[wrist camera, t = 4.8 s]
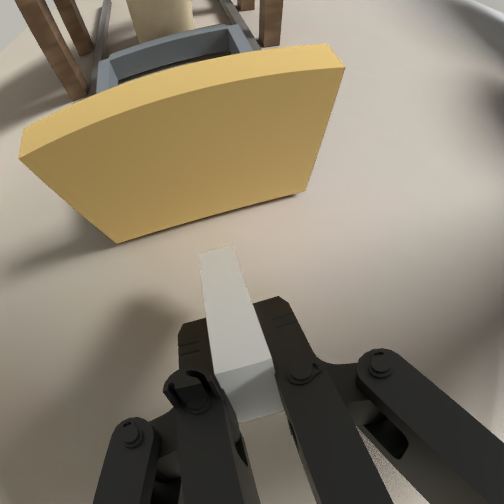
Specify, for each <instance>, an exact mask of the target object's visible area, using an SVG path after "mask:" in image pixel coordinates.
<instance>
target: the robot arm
mask: <svg viewBox="0 0 504 504" xmlns="http://www.w3.org/2000/svg"><path fill="white" fill-rule="evenodd" d="M198 257H199V266H200V274H201V283H202V291H203V298H204V306H205V313H206V318H203V319H200V320H196V321H192V322H188V323H185V324H183V325H182V327H181V329H180V331H179V334H178V347H179V348H178V354H179V370H177V371H176V372H174V373H173V374H172V375H171V376H169V378H168V379H167V381H166V382H165V384H164V388H163V393H164V394H165V396H166V397H167V398H168V400H169V401H170V402H171V404H172V405H173V406H174V407H173V408H172V409H171V410H170V411H169V412H167V413H166V414H164V415H162V416H160V417H158V418H156V419H154V420H152V421H150V422H147V421H146V420H145V419H142V418H138V417H135V418H129V419H126V420H124V421H122V422H121V423H120V424H119V425H118V426H117V427H116V428H115V430H114V432H113V434H112V437H111V440H110V444H109V447H108V450H107V454H106V457H105V460H104V464H103V468H102V471H101V475H100V478H99V482H98V486H97V490H96V493H95V497H94V501H93V504H260V500H259V496H258V493H257V489H256V485H255V481H254V478H253V474H252V470H251V466H250V462H249V458H248V454H247V450H246V446H245V442H244V438H243V436H242V434H241V432H240V430H239V425H238V422H239V423H242V422H246V421H250V420H254V419H257V418H261V417H265V416H268V415H271V414H275V413H278V412H282V411H285V413H286V416H287V420H288V423H289V427H290V431H291V435H292V436H293V438H294V441H295V444H296V447H297V450H298V453H299V455H300V458H301V461H302V464H303V467H304V470H305V472H306V475H307V478H308V481H309V483H310V486H311V489H312V492H313V495H314V497H315V500H316V503H317V504H393V502H392V499H391V497H390V495H389V493H388V491H387V489H386V487H385V485H384V483H383V481H382V479H381V477H380V475H379V473H378V471H377V469H376V467H375V465H374V463H373V461H372V459H371V456H370V454H369V452H368V450H367V448H366V446H365V444H364V442H363V440H362V438H361V436H360V434H359V432H358V430H357V428H356V426H357V427H358V428H359V429H360V430H361V431H362V432H363V434H364V435H365V436H366V437H367V438H368V439H369V440H370V441H371V442H372V443H373V444H374V445H375V447H376V448H377V449H378V450H379V451H380V452H381V453H382V454H383V455H384V456H385V457H386V458H387V459H388V460H389V461H390V463H391V464H392V465H393V466H394V467H395V468H396V469H397V470H398V471H399V472H400V473H401V474H402V475H403V476H404V477H405V478H406V479H407V480H408V481H409V482H410V483H411V485H412V486H413V487H414V488H415V489H416V490H417V491H418V492H419V493H420V494H421V495H422V496H423V497H424V498H425V499H426V500H427V501H428V502H429V503H430V504H504V443H503V442H502V441H501V440H500V439H498V438H497V437H496V436H495V435H494V434H493V433H491V432H490V431H489V430H488V429H487V428H486V427H484V426H483V425H482V424H481V423H480V422H479V421H477V420H476V419H475V418H474V417H473V416H471V415H470V414H469V413H468V412H467V411H466V410H464V409H463V408H462V407H461V406H460V405H458V404H457V403H456V402H455V401H454V400H453V399H451V398H450V397H449V396H448V395H447V394H445V393H444V392H443V391H442V390H441V389H439V388H438V387H437V386H436V385H435V384H433V383H432V382H431V381H430V380H429V379H427V378H426V377H425V376H424V375H423V374H421V373H420V372H419V371H418V370H417V369H415V368H414V367H413V366H412V365H411V364H409V363H408V362H407V361H406V360H405V359H403V358H402V357H401V356H400V355H399V354H397V353H395V352H393V351H392V350H388V349H383V348H381V349H373V350H371V351H369V352H366V353H365V354H364V355H363V356H362V357H361V358H360V359H359V361H358V363H351V364H330V363H326V362H324V361H322V360H320V359H319V358H318V357H316V355H315V354H314V352H313V351H312V349H311V347H310V345H309V343H308V341H307V339H306V337H305V335H304V333H303V331H302V329H301V327H300V325H299V323H298V321H297V319H296V317H295V315H294V313H293V311H292V309H291V307H290V305H289V303H288V302H286V301H285V300H284V299H282V298H281V297H279V296H277V297H274V298H270V299H267V300H264V301H260V302H257V303H253V304H252V301H251V298H250V295H249V292H248V289H247V286H246V283H245V280H244V277H243V275H242V272H241V269H240V266H239V263H238V260H237V257H236V254H235V251H234V248H233V245H228V246H225V247H221V248H218V249H214V250H211V251H207V252H204V253H200V254H198ZM237 420H238V421H237Z"/></svg>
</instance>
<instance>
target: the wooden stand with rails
mask: <svg viewBox="0 0 504 504" xmlns="http://www.w3.org/2000/svg"><path fill="white" fill-rule="evenodd" d="M15 2H16V4H17V6H18V8H19V10H20V11H21V13H22V15H23V17H24V19H25V21H26V23H27V24H28V26H29V28H30V30H31V32H32V33H33V35H34V37H35V39H36V41H37V42H38V44H39V46H40V48H41V49H42V51H43V53H44V54H45V56H46V58H47V60H48V61H49V63H50V65H51V66H52V68H53V70H54V71H55V73H56V75H57V76H58V78H59V79H60V81H61V83H62V84H63V86H64V88H65V89H66V91H67V92H68V94H69V96H70V97H71V99H72V100H73V101H75V100H77V99H79V98H82V97H84V96H86V95H87V93H88V84H87V82H86V81H85V79H84V77H83V75H82V73H81V71H80V69H79V68H78V66H77V64H76V62H75V60H74V58H73V56H72V54H71V52H70V50H69V48H68V46H67V45H66V43H65V41H64V39H63V37H62V35H61V33H60V31H59V29H58V27H57V25H56V23H55V21H54V18H53V16H52V14H51V12H50V10H49V8H48V6H47V4H46V2H45V0H15ZM54 2H55V4H56V7H57V9H58V11H59V13H60V16H61V18H62V20H63V22H64V24H65V26H66V28H67V30H68V32H69V34H70V37H71V39H72V41H73V43H74V45H75V47H76V49H77V51H78V53H79V55H80V56H82V55H84V54H86V53H89V52H91V51H93V42H92V40H91V38H90V36H89V33H88V31H87V29H86V26H85V24H84V22H83V19H82V17H81V15H80V12H79V10H78V8H77V5H76V3H75V0H54ZM219 2H220V4H221V5H222V7H223V9H224V11H225V12H226V14H227V16H228V18H229V19H230V21H231V23H232V25H235V24H238V25H239V26H240V28H241V30H242V31H243V33H244V35H245V37H246V38H247V40H248V42H249V44H250V45H251V47H252V49H253V51H258V50H261V48H260V46H259V45H258V43H257V41H256V40H255V38H254V36H253V35H252V33H251V31H250V30H249V28H248V26H247V25H246V23H245V22H244V20H243V18H242V17H241V15H240V14H239V12H238V11H237V9H236V8H235V6H234V4H233V3H232V1H231V0H219ZM254 2H255V0H237V4H238V7H239V9H240V10H241V11H246V10H254ZM111 4H112V3H111V0H104V1H103V6H102V11H101V16H100V21H99V26H98V32H97V38H96V45H95V52H94V59H93V68H92V77H91V87H90V96H93V95H95V94H96V88H97V75H98V64H99V61H102V60H104V59H105V55H106V44H107V34H108V25H109V18H110V10H111ZM282 9H283V0H260V15H259V40H260V42H261V43H262V45H263V47H269V46H278V45H279V44H280V33H281V21H282Z"/></svg>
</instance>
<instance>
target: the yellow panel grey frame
mask: <svg viewBox="0 0 504 504" xmlns="http://www.w3.org/2000/svg"><path fill="white" fill-rule="evenodd" d="M227 50H229V51H230V53H231V55H228V56H223V57H218V58H213V59H208V60H204V61H200V62H195V63H191V64H187V65H183V66H179V67H176V68H172V69H168V70H165V71H161V72H158V73H155V74H151V75H148V76H145V77H142V78H139V79H136V80H133V81H130V82H127V83H124V84H121V85H119V86H118V80H120V79H123V78H126V77H129V76H132V75H135V74H138V73H141V72H144V71H147V70H150V69H154V68H157V67H160V66H164V65H167V64H171V63H175V62H178V61H182V60H186V59H190V58H194V57H199V56H203V55H208V54H212V53H217V52H222V51H227ZM344 70H345V66H344V64H343V63H342V62H341V60H340V59H339V58H338V57H337V55H336V54H335V53H334V51H333V50H332V49H331V48H330V46H329V45H328V44H316V45H302V46H291V47H281V48H273V49H265V50H258V51H253V49H252V47H251V45H250V44H249V42H248V40H247V38H246V37H245V35H244V33H243V31H242V30H241V28H240V26H239V25H238V24H235V25H228V26H226V24H225V23H224V24H218V25H213V26H208V27H203V28H198V29H193V30H189V31H185V32H181V33H177V34H173V35H169V36H165V37H162V38H158V39H155V40H151V41H148V42H145V43H141V44H138V45H135V46H132V47H129V48H126V49H123V50H121V51H118V52H115V53H112V54H110V57H109V58H107V59H104V60H102V61H99V64H98V75H97V88H96V94H95V95H93V96H90V97H88V98H86V99H83V100H81V101H79V102H76V103H74V104H72V105H70V106H68V107H65V108H63V109H61V110H59V111H57V112H55V113H53V114H51V115H49V116H47V117H45V118H43V119H41V120H39V121H37V122H35V123H33V124H31V125H30V126H28V127H26V128H24V130H23V135H22V140H21V146H20V152H19V158H18V159H19V160H20V161H21V162H22V163H23V164H25V165H26V166H27V167H28V168H29V169H30V170H31V171H32V172H33V173H34V174H35V175H36V176H38V177H39V178H40V179H41V180H42V181H43V182H44V183H45V184H46V185H48V186H49V187H50V188H51V189H52V190H53V191H54V192H55V193H57V194H58V195H59V196H60V197H61V198H62V199H63V200H65V201H66V202H67V203H68V204H69V205H70V206H72V207H73V208H74V209H75V210H76V211H77V212H79V213H80V214H81V215H82V216H83V217H85V218H86V219H87V220H88V221H89V222H91V223H92V224H93V225H94V226H96V227H97V228H98V229H99V230H100V231H102V232H103V233H104V234H105V235H107V236H108V237H109V238H110V239H112V240H113V241H114V242H115V243H121V242H124V241H127V240H130V239H133V238H137V237H140V236H143V235H146V234H150V233H153V232H156V231H160V230H163V229H166V228H170V227H173V226H177V225H180V224H183V223H187V222H190V221H194V220H197V219H201V218H204V217H208V216H212V215H215V214H219V213H222V212H226V211H230V210H233V209H237V208H241V207H245V206H248V205H252V204H256V203H260V202H264V201H268V200H272V199H275V198H279V197H283V196H287V195H291V194H295V193H300V192H304V191H305V190H306V187H307V184H308V181H309V178H310V175H311V172H312V169H313V167H314V164H315V161H316V158H317V155H318V152H319V149H320V146H321V142H322V139H323V136H324V133H325V130H326V127H327V124H328V121H329V118H330V115H331V112H332V109H333V105H334V102H335V99H336V96H337V93H338V90H339V86H340V83H341V80H342V77H343V73H344Z"/></svg>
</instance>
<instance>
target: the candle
mask: <svg viewBox="0 0 504 504" xmlns="http://www.w3.org/2000/svg"><path fill="white" fill-rule="evenodd" d="M126 2H127V5H128V8H129V12H130V15H131V18H132V21H133V24H134V28H135V31H136V34H137V37H138V40H139V43H140V44H141V43H145V42H148V41H151V40H155V39H158V38H162V37H165V36H169V35H173V34H177V33H181V32H185V31H189V30H193V29H195V27H194V20H193V14H192V7H191V0H126Z"/></svg>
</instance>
